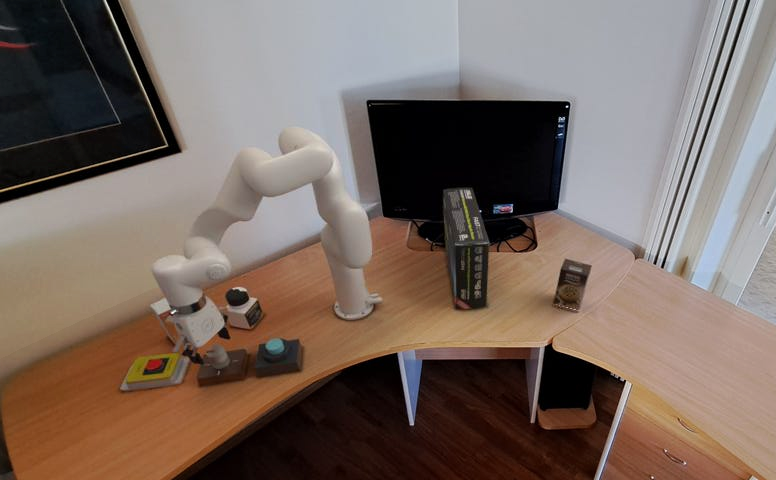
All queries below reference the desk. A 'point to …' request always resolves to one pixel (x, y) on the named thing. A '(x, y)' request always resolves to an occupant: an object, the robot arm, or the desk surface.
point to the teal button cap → (275, 346)
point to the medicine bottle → (242, 308)
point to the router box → (466, 248)
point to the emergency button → (155, 372)
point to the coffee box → (572, 285)
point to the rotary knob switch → (223, 369)
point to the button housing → (279, 359)
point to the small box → (165, 318)
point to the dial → (218, 356)
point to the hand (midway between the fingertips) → (212, 350)
